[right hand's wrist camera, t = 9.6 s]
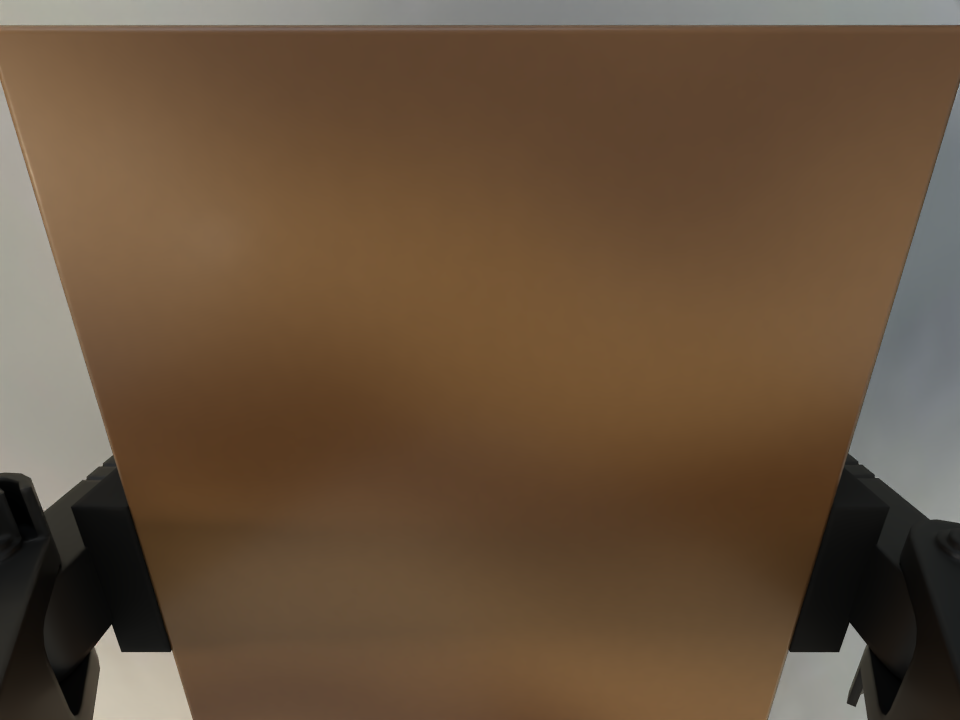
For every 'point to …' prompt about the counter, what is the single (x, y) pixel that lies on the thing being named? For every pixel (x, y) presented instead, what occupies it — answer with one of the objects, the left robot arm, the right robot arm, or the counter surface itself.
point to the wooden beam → (480, 342)
